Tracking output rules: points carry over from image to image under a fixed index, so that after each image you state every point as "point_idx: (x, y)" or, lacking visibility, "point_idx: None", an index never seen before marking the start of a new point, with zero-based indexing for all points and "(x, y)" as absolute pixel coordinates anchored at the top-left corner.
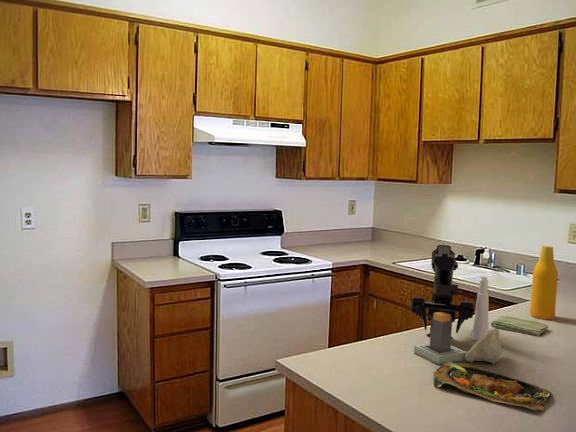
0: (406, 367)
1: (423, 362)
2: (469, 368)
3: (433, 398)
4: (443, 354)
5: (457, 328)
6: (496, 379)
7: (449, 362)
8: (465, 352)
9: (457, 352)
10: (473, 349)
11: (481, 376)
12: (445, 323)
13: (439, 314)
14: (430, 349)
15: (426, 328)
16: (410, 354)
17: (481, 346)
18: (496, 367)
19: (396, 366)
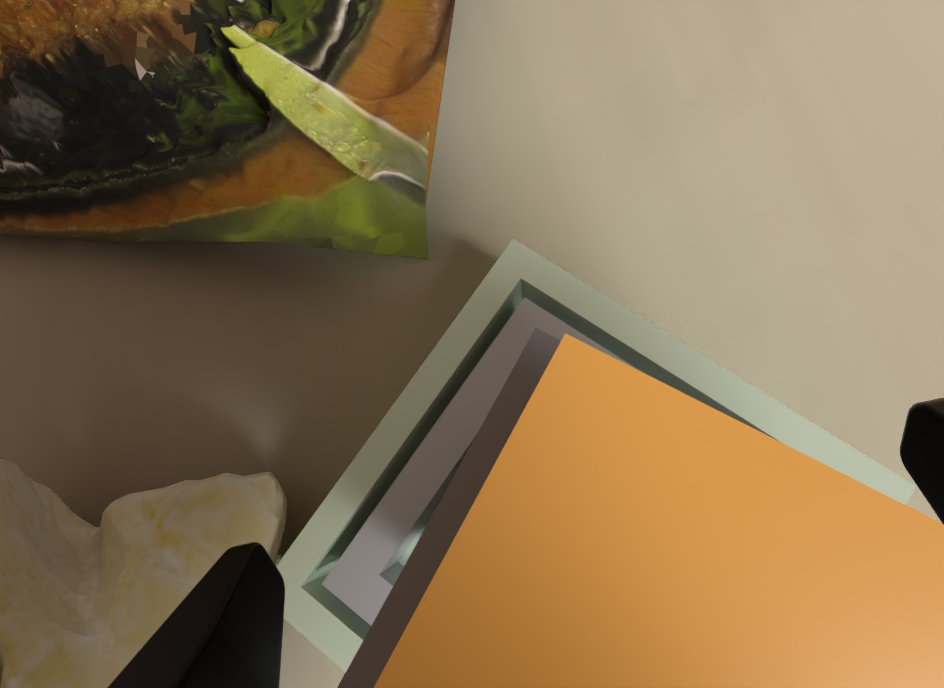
0: (755, 53)
1: (664, 259)
2: (212, 155)
3: None
4: (489, 350)
5: (204, 600)
6: (12, 50)
7: (391, 167)
8: None
9: (352, 512)
10: (139, 564)
11: (111, 11)
12: (468, 463)
13: (801, 502)
14: None
15: (928, 483)
16: (873, 422)
17: None
18: None
19: (843, 25)
